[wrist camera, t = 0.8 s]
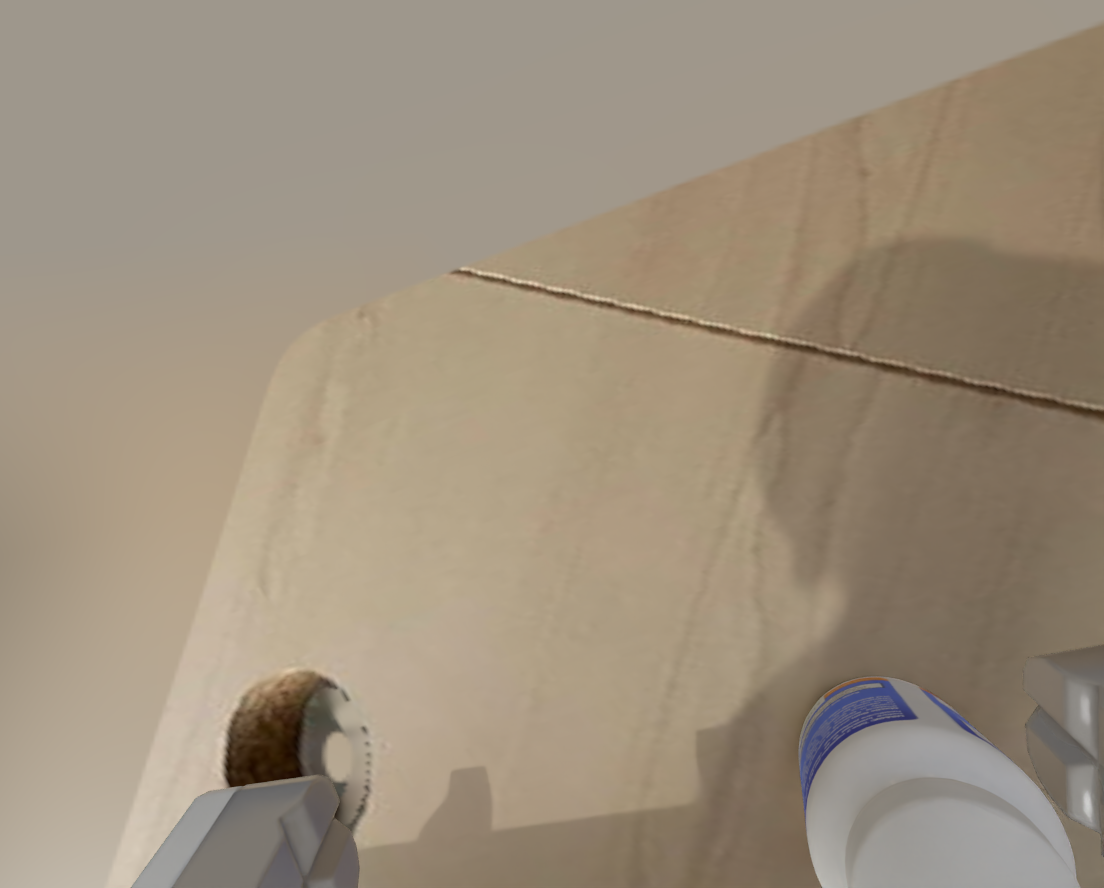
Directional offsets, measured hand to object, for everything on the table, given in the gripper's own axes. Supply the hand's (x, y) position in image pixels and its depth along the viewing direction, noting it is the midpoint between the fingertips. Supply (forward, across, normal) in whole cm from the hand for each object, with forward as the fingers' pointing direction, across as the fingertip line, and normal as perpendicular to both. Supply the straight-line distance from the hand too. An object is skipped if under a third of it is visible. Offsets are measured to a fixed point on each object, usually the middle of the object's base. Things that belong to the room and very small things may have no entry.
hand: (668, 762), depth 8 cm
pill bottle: (+12, -7, +12) cm, 18 cm away
